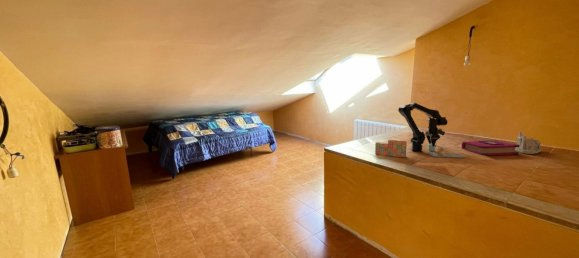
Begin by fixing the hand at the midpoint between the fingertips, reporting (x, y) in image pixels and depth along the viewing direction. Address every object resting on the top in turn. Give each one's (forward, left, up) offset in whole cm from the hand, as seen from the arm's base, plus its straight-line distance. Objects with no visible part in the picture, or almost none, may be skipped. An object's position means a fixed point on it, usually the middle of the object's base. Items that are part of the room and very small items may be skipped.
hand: (431, 145), depth 194 cm
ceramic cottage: (+68, +7, -5) cm, 68 cm away
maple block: (+1, -16, -3) cm, 16 cm away
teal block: (0, 0, -4) cm, 4 cm away
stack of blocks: (-33, -21, -5) cm, 39 cm away
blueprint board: (+5, -16, -4) cm, 17 cm away
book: (+40, +3, -5) cm, 41 cm away
